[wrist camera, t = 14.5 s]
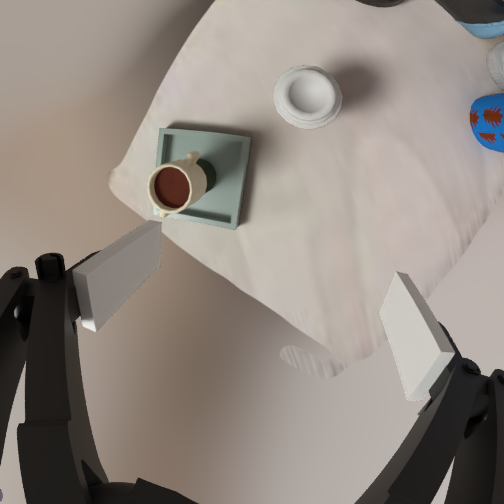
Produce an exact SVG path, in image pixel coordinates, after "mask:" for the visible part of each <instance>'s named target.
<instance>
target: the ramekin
mask: <svg viewBox="0 0 504 504" xmlns="http://www.w3.org/2000/svg"><path fill="white" fill-rule="evenodd" d="M487 65H488V69H489V72H490V74H491V76H492V78H493V79H494V81H495V82H496V83H497V84H498V85H499V87H501V88H502V89H503V90H504V41H502V42H499V43H497V44H496V46H495V47H493V48H492V49H491V50H490V51H489V52H488V54H487Z"/></svg>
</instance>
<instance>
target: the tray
mask: <svg viewBox="0 0 504 504" xmlns="http://www.w3.org/2000/svg"><path fill="white" fill-rule="evenodd" d="M251 140H252V137H247V136H239V135H232V134H224V133H215V132H206V131H196V130H184V129H169V128H160V129H159V138H158V147H157V157H156V168H157V167H159V166H160V165H162V164H164V163H168V162H170V161H175V160H180V159H184V160H185V158H186V156H187V154H188V153H189V152H192V151H198V152H199V154H200V155H199V158H198V159H203V160H206V161H208V162H209V163H210V164H211V165H212V166H213V167H214V169H215V172H216V183H215V185H214V187H213V188H212V189H211V190H210V191H208V192H207V193H205V194H204V195H203V196H202V197H201V198H200V199H199V201H197V202H195V203H194V204H192V205H191V206H189V207H188V208H186V209H184V210H182V211H180V212H178V213H171V214H170V215H168V216H167V217H170V218H175V219H181V220H186V221H191V222H196V223H201V224H207V225H212V226H217V227H222V228H227V229H232V230H236V229H237V227H238V225H239V219H240V212H241V205H242V198H243V192H244V185H245V179H246V172H247V166H248V159H249V153H250V147H251ZM160 212H161V211H160V210H159V209H158V208H156V207H155V206H154V205H153V214H154V215H159V216H160Z"/></svg>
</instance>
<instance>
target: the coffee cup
mask: <svg viewBox="0 0 504 504" xmlns="http://www.w3.org/2000/svg"><path fill="white" fill-rule="evenodd" d="M273 100H274V103H275V106H276V109H277V111H278V113H279V114H280V115H281V116H282V117H283V118H284V119H285V121H286V122H288V123H290V124H292V125H294V126H296V127H297V128H303V129H310V130H312V129H317V128H321V127H325V126H326V125H327V124H329V123H330V122H332V121H333V120H334V119H335V118H336V117H337V115H338V113H339V111H340V110H341V107H342V93H341V90H340V87H339V84H338V82H337V81H336V80H335V79H334V78H333V77H332V76H331V74H330V73H328V72H326V71H324V70H322V69H320V68H318V67H314V66H306V65H302V66H298V67H294V68H291V69H289V70H288V71H286V72H285V73H284V74H282V75H281V76H280V78H279V79H278V81H277V83H276V85H275V86H274V96H273Z"/></svg>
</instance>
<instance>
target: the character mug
mask: <svg viewBox="0 0 504 504" xmlns="http://www.w3.org/2000/svg"><path fill="white" fill-rule="evenodd" d="M199 155H200V154H199V152H198V151H192V152H189V153H188V154H187V156H186V158H185V160H184V159H180V160H175V161H170V162H168V163H164V164H162V165H160V166H159V167H157V168H155V169H154V170H153V171H152V172H151V174H150V176H149V178H148V182H147V190H148V196H149V198H150V200H151V202H152V203H153V205H154V206H155V207H156V208H158V209H159V210H160V211H161V212H160V217H161V218H165V217H167V216H168V215H170V214H171V213H178V212H180V211H182V210H184V209H186V208H188V207H189V206H191V205H192V204H194V203H195V202H197V201H199V199H200V198H201V197H202V196H203V195H204V194H205V193H207V192H208V191H210V190H211V189H212V188H213V187H214V185H215V183H216V172H215V169H214V167H213V166H212V165H211V164H210V163H209V162H208V161H206V160H203V159H198V158H199Z"/></svg>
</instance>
